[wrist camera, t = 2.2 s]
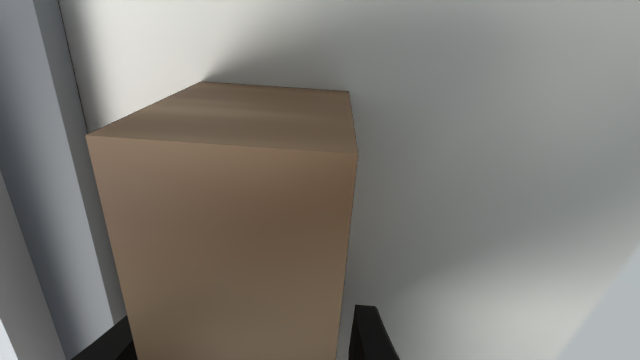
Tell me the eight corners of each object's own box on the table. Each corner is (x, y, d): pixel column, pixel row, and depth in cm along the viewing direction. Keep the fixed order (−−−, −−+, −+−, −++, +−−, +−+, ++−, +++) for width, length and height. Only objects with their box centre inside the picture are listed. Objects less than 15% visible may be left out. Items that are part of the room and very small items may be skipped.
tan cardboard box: (319, 411, 16) (312, 573, 11) (229, 403, 16) (185, 562, 11) (348, 89, 10) (358, 153, 5) (203, 80, 10) (86, 135, 5)
